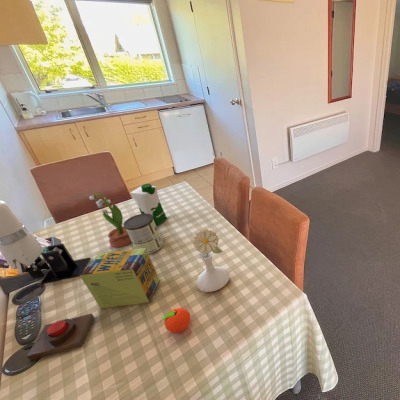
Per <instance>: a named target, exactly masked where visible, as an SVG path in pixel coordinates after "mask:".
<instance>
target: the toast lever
mask: <svg viewBox="0 0 400 400" xmlns="http://www.w3.org/2000/svg"><path fill="white" fill-rule="evenodd" d="M56 250H58V251H59V253H60V254H61V252H62V251H63V250H61V249H59V248H57V247H55V248H54V249H53V250H51V251H56ZM51 251H49V252H51ZM45 262H46V260H45V259H43V260H42V261H41V262H39V263H36V262H33V263H34V264H35V266H36V267H37V268H39V269H40V270H41V269H42V264H44V263H45ZM46 263H47V262H46ZM29 267H31V266H29Z"/></svg>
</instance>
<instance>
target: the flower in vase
mask: <svg viewBox="0 0 400 400" xmlns="http://www.w3.org/2000/svg"><path fill="white" fill-rule="evenodd" d="M219 241H220V238H219V236H218V234H217V232H215V231H214V230H211V229H208V228H204V229H202V230H199V231H198V232H195V235H194V236H193V240H192V244H193V245H194V248H195V250H196V251H197V252H198V254H197V258H198V259H200V260H202V261H203V263H204V266H205V268H206V269H205V270H203V271H201V273H200V274H199V275H198V276H197V279H196V287H197V289H198V290H199V291H201V292H205V293H213V292H215V291H216V292H217V291H218V290H220V289H222V288H223V287H225V286H226V285H227V283H228V281H229V280H230V277H231V276H230V275H231V274H230V271H229V270H228V269H227V268H225V267H223V266H214V265H213V260H212V258H213V255H214V254H221V253H223V250H222V249H221V248H219V247H218V245H219Z"/></svg>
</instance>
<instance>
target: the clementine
mask: <svg viewBox="0 0 400 400" xmlns="http://www.w3.org/2000/svg"><path fill="white" fill-rule="evenodd" d="M163 320H164V327H165V329H166V330H167V331H168V332H170V333H173V334H178V333H180V332H181V333H182V332H183V331H184V330H185V329H186V328H187V327H188V326H189V325H190V323H191V313H190V311H189V310H188V309H186V308H184V307H175V308H173V309H172V310H170V311H169V312H168V313H167V314H165V315H164V316H163V317H162V318H161V320H160V322H159V323H161V322H162V321H163Z"/></svg>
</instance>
